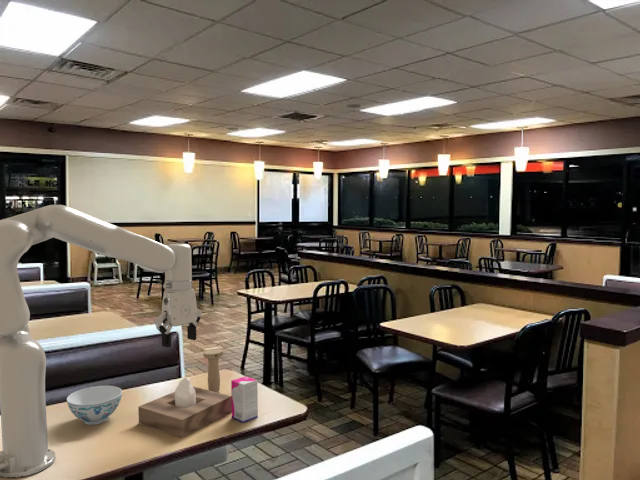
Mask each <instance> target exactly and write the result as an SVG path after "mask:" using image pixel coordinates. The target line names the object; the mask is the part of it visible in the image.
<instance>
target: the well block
mask: <svg viewBox="0 0 640 480" xmlns="http://www.w3.org/2000/svg"><path fill="white" fill-rule="evenodd" d="M192 387H193V388H194V390H195V395H196V404H195V405H192V406H190V407H188V408H186V409H185V408H181V407H178V406H175V391H172V392H171V393H168V394H166V395H164V396H161V397H159V398H156V399H154V400H152V401H148V402H146V403H144V404H142V405H139V406H138V407H137V408H138V411H137V413H138V424H140V425H143V426H147V427H149V428H152V429H155V430H157V431H161V432H164V433H167V434H169V435H173V436H176V437H179V438H182V439H183V438H185V437H187V436H189V435H191V434H192V433H195V432H196V431H199V430H200V429H202V428H204V427H206V426H208V425H209V424H212V423H213V422H216V421H218V420H220V419H222V418H223V417H225V416H227V415H230V414H232V396H231V395H229V394H228V395H227V394H224V393H220V392H219V393H217V392H213V391H209V389H206V388H205V389H204V388H201V387H197V386H193V385H192Z"/></svg>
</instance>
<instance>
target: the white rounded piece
mask: <svg viewBox="0 0 640 480" xmlns="http://www.w3.org/2000/svg"><path fill="white" fill-rule="evenodd" d="M192 386H193V385H192V384H191V379H189V378H188V377H184V378H182V379H181V380H180V381H179V382H178V385H177V386H176V388H175V390H174V392H175V406H178V407H181V408H185V409H186V408H188V407H190V406H192V405H195V404H196V395H195V390H194V388H193V387H194V386H193V387H192Z"/></svg>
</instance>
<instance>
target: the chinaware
mask: <svg viewBox="0 0 640 480" xmlns="http://www.w3.org/2000/svg"><path fill="white" fill-rule="evenodd" d="M122 396H123V390H122V388H120V387H118V386H115V385H98V386H95V385H94V386H90V387H86V388H82V389H78V390H76V391H74V392H71V393H70V394H69V395H68V396H67V398H66V403H67V407H68V409H69V410H70V412H71V413H72V414H73V416H74V417H76V418H77V419H79V420H80V421H81V420H82V421H83V424H85V425H87V426H94V425H99V424H102V423H105V422H106V421H108V419H109V416H111V415H112V414H114V412H115V411H116V410H117V408H118V407H119V405H120V402H121V400H122Z"/></svg>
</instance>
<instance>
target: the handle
mask: <svg viewBox="0 0 640 480" xmlns="http://www.w3.org/2000/svg"><path fill="white" fill-rule="evenodd" d="M223 355H224V350H223V349H221V348H215V349H210V350H209V349H208V350H205V351H203V355H202V356H203V357H204V358H206V359H207V361H208V362H207V363H208V364H207V365H208V368H207V386H208V387H207V390H209V391H213V392H217V393H220V389H221V388H220V387H221V375H220V364H219V363H220V362H219V359H220V358H221V357H222V356H223Z"/></svg>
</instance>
